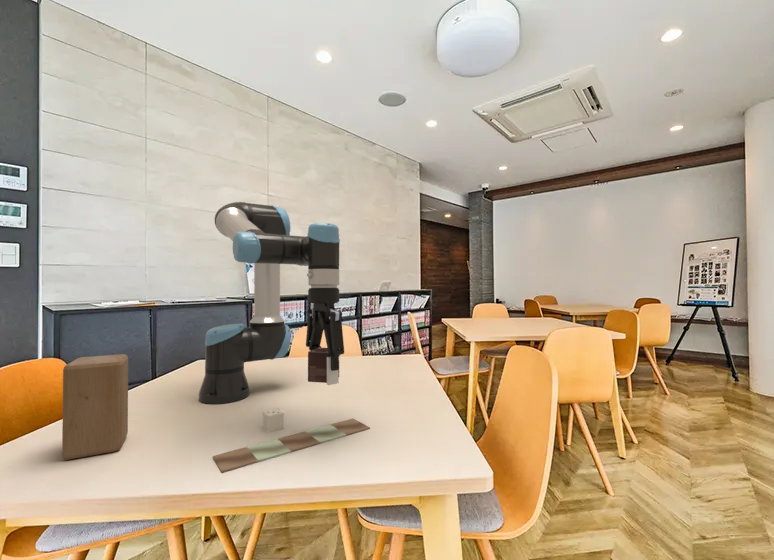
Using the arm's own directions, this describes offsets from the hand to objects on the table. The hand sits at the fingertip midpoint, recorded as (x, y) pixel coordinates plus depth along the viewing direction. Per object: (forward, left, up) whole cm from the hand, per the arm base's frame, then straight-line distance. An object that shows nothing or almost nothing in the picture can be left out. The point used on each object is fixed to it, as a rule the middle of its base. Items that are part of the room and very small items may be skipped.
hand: (323, 379), depth 88 cm
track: (0, -7, -13) cm, 15 cm away
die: (-12, -8, -13) cm, 20 cm away
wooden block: (-25, -44, -13) cm, 52 cm away
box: (0, 0, 0) cm, 0 cm away
